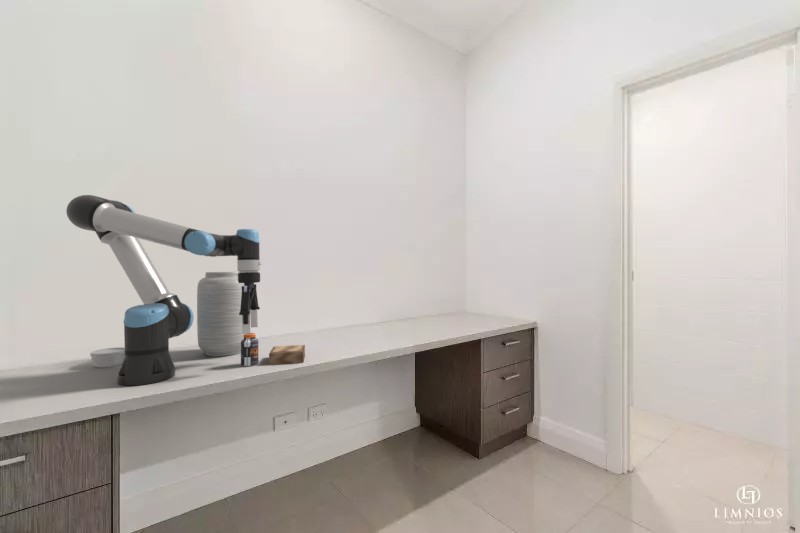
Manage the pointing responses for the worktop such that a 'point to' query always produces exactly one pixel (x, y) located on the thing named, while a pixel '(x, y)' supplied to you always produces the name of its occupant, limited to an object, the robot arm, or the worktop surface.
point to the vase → (219, 314)
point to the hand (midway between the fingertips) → (250, 330)
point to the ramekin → (108, 357)
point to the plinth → (287, 354)
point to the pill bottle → (249, 350)
